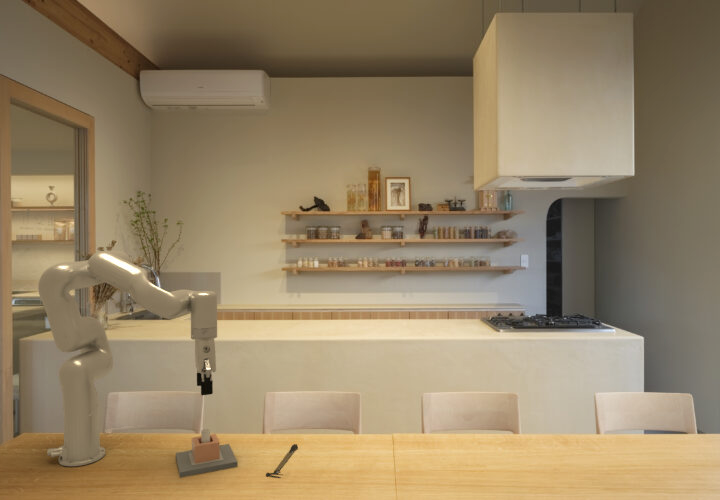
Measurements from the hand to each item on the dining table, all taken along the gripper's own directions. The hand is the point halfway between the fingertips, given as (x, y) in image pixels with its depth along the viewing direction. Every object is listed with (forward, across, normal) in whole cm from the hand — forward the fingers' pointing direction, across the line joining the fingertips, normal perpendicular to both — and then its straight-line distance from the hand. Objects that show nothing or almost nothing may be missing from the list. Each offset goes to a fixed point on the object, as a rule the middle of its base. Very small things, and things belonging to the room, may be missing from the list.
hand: (204, 389), depth 152 cm
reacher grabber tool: (+22, -10, -23) cm, 33 cm away
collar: (+20, 0, 0) cm, 20 cm away
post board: (+22, 0, 0) cm, 22 cm away
